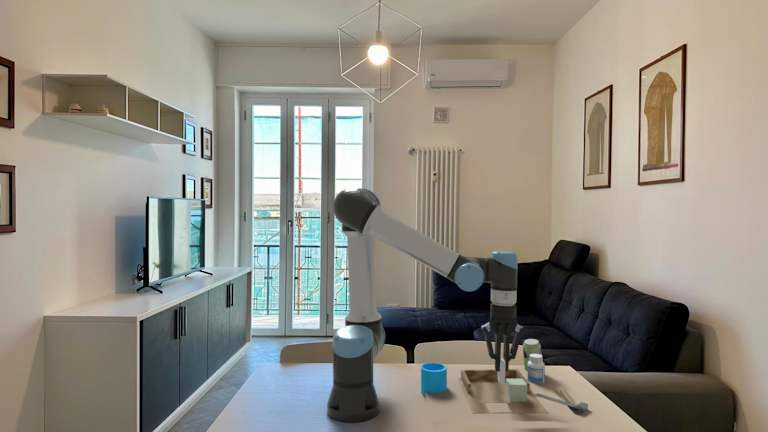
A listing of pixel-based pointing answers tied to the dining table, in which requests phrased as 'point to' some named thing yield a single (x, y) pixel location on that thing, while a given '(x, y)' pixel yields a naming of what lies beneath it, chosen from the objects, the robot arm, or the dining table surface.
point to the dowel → (567, 397)
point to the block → (516, 390)
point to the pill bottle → (536, 369)
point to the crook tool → (568, 404)
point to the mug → (433, 378)
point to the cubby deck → (495, 391)
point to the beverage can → (530, 350)
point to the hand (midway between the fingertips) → (501, 381)
